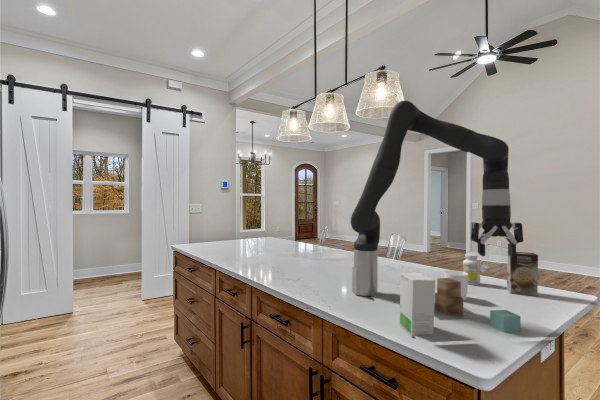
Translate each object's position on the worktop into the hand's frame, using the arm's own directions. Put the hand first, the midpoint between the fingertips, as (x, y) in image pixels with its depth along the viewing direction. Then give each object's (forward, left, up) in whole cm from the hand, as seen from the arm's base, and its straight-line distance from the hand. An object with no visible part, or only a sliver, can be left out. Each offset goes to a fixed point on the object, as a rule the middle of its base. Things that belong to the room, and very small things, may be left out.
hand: (496, 255), depth 94 cm
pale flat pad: (-13, +5, -19) cm, 24 cm away
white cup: (-2, +18, -20) cm, 27 cm away
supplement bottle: (+19, +39, -20) cm, 48 cm away
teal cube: (-5, -9, -20) cm, 22 cm away
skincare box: (-30, -7, -20) cm, 36 cm away
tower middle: (-13, +5, -14) cm, 19 cm away
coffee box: (+30, +24, -20) cm, 43 cm away
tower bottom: (-13, +5, -19) cm, 23 cm away
